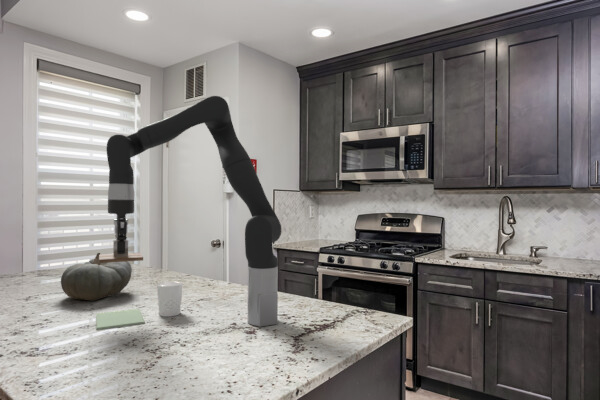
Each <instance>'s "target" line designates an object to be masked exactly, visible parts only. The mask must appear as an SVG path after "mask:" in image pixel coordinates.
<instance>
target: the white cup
mask: <svg viewBox="0 0 600 400" xmlns="http://www.w3.org/2000/svg"><path fill="white" fill-rule="evenodd" d="M156 286H157V305H158V315H159V316H160V317H165V318H166V317H169V318H170V317H174V316H178V315H180V314H181V308H182V306H181V305H182V297H183V282H182V281H164V282H163V281H162V282H159V283H157V285H156Z"/></svg>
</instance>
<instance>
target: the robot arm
mask: <svg viewBox="0 0 600 400" xmlns="http://www.w3.org/2000/svg"><path fill="white" fill-rule="evenodd" d="M232 121H233V120H232V116H231V111H230V106H229V104H228V102H227V100H226V99H225V98H223V97H222V96H218V95H211V96H208V97H205V98H204V99H202V100H200V101H198V102H196V103H194V104H193V105H191V106H190V107H187V108H186V109H183V110H181V111H179V112H177V113H175V114H173V115H171V116H169V117H166V118H164V119H161V120H158V121H155V122H153V123H150V124H148V125H145V126H142V127H139V129H137V132H134V133H131V134H129V135H124V134H122V133H116V134H113V135H111V136H110V137H109V138H108V140H107V142H106V157H107V164H108V169H109V172H108V173H109V174H108V175H109V176H108V191H107V214H111V215H116V219H113V225H114V234H115V240H117V253H118V254H124V253H125V242H124V241H126V239H127V240H128V238H127V234H128V225H129V219H127V218H126V216H127V215H128V214H129V215H130V214H131V215H132V214H134V213H135V186H134V169H133V167H132V165H131V164H132V163H131V161H132V160H131V158H134V157H136V156H137V155H140V154H141V153H143V152H145V151H146V150H149V149H152V148H155V147H158V146H160V145H164V144H166V143H169V142H170V141H173V140H175V139H176V138H177V137H179V136H180V135H181V134H183V133H184V132H185V131H187V130H189V129H191V128H193V127H195V126H198V125H202V124H205V126H206V128H207V129H208V131H209V133H210V135H211V136H212V139H213V140H214V142H215V144H216V147H217V150H218V155H219V158H220V162H221V165H222V168H223V171H224V173H225V175H226V177H227V181H228V182H229V185H231V188H232V189H233V191H234V192H235V193H236V194H237V196H239V198H240V199H241V200H242V201H243V202H244V204H245V205H246V207H247V209H248V210H249V212H250V215H251V217H250V218H248V220H247V221H246V225H245V229H244V249H245V250H244V251H245V253H244V254H245V257H246V260H247V324H249V325H252V326H257V327H258V328H260V327H267V326H273V325H277V324H278V321H279V320H278V319H279V318H278V315H279V313H278V303H279V300H278V296H279V295H278V279H279V278H278V272H279V271H278V268H279V267H278V262H279V261H278V257H277V256H276V255H275V254H274V251H273V250H274V249H273V243H275V242H277V241H278V240H279V239H280V237H281V234H282V225H281V222H280V219H279V217H278V216H277V213H276V212H275V211H274V209H273V207H272V205H271V203H270V202H269V199H268V197H267V196H266V193H265V191H264V189H263V186H262V183H261V181H260V179H259V177H258V174H257V171H256V169H255V167H254V164H253V162H252V160H251V158H250V156H249V154H248V152H247V151H246V150H247V149H246V148H244V146H243V145H242V143H241V141H240V140H239V138H238V137H237V134H236V131H235V130H236V129H235V128H234V124H233V122H232Z"/></svg>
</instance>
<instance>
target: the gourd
mask: <svg viewBox="0 0 600 400" xmlns="http://www.w3.org/2000/svg"><path fill="white" fill-rule="evenodd" d="M99 255H101V253H100V252H97V254H96V255H95V257H94V258H92V259H90V260H89V261H87V262H84V263H75V264H73V265H70V266H68V267H67V268H66V269H65V270H64V271H63V272H62V275H61V276H60V277H61V278H60V286H61V289H62V291H63V293H64V294H65V295H66V296H67V297H69V298H71V299H74V300H86V301H90V302H91V301H97V300H100V299H103V298H107V297H111V296H115V295H118V294H119V293H120V292H122V290H124V289H125V288H126V287H127V286H128V285H129V282H130V280H131V277H132V271H133V267H132V265H131V262H130V261H126V262H110V263H99Z"/></svg>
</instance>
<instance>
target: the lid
mask: <svg viewBox="0 0 600 400" xmlns="http://www.w3.org/2000/svg"><path fill="white" fill-rule="evenodd" d="M112 242H113V245H112V246H113V249H112V251H113V252H112V253H107V254H100V255H99V263H110V262H126V261H128V262H137V261H138V262H140V261H141V262H142V261H144V256H143V255H142V254H141V253H140V252H129V240H128V238H127V239H126V241H124V242H125V253H124V254H118V253H117V240H116V239H113V241H112Z"/></svg>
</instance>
